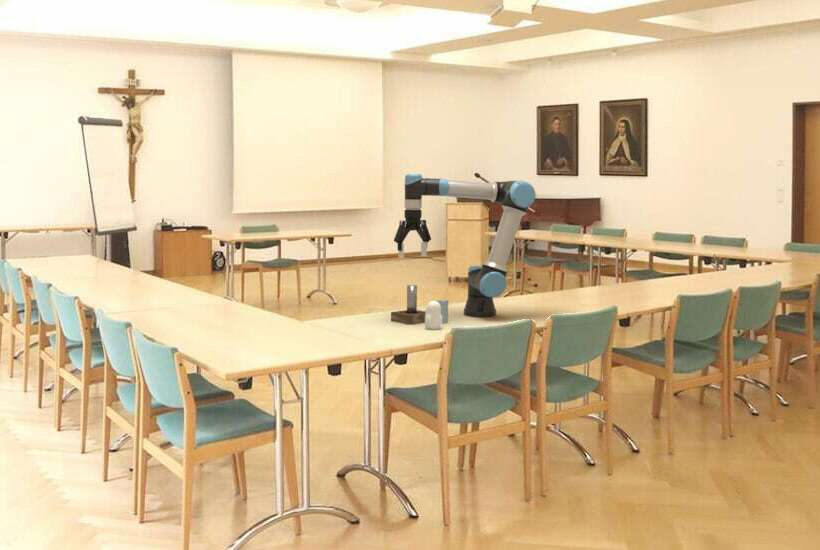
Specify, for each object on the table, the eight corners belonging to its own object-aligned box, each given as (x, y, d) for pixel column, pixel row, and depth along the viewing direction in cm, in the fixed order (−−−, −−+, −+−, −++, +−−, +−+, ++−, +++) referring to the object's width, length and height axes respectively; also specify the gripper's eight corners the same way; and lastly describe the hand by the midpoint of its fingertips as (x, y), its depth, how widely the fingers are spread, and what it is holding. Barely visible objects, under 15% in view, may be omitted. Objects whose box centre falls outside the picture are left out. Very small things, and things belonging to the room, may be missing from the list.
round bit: (411, 320, 401) (412, 284, 400) (418, 321, 398) (419, 285, 396) (404, 321, 398) (404, 285, 397) (411, 322, 395) (411, 286, 393)
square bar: (439, 321, 398) (440, 299, 397) (447, 322, 396) (448, 300, 395) (435, 322, 395) (436, 300, 394) (443, 323, 393) (444, 301, 392)
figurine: (427, 330, 376) (427, 302, 375) (422, 327, 383) (422, 299, 382) (443, 329, 378) (444, 301, 376) (438, 326, 385) (438, 299, 384)
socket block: (412, 318, 407) (412, 309, 407) (432, 321, 398) (432, 312, 397) (391, 320, 399) (391, 312, 398) (410, 324, 389) (410, 315, 389)
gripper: (427, 208, 404) (427, 255, 406) (386, 209, 387) (385, 258, 389) (439, 208, 398) (438, 256, 401) (397, 210, 382) (397, 259, 384)
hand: (412, 257), depth 395 cm, fingers open, 13 cm apart
